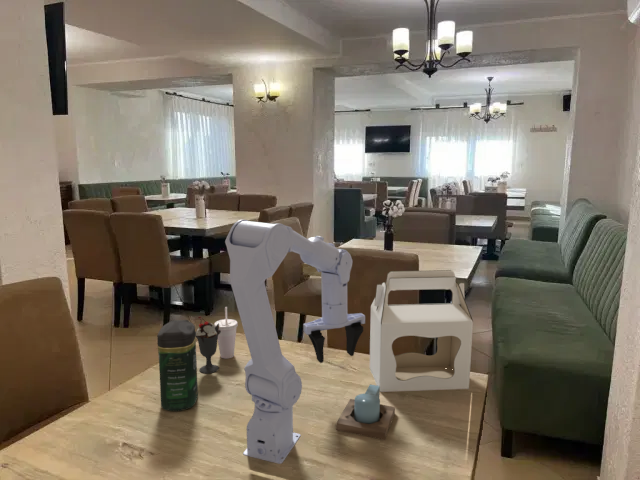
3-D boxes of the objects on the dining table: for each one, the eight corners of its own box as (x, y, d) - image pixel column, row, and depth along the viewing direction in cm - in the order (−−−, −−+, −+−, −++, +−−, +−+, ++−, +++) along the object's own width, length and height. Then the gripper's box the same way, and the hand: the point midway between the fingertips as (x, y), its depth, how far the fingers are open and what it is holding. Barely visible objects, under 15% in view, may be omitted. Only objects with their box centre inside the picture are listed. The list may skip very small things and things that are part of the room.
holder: (384, 442, 90) (385, 432, 90) (336, 431, 94) (336, 422, 93) (394, 415, 100) (394, 407, 99) (350, 407, 103) (350, 398, 103)
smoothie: (241, 351, 132) (239, 304, 130) (235, 361, 126) (233, 312, 124) (219, 350, 133) (217, 303, 130) (212, 360, 127) (210, 311, 124)
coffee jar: (195, 411, 101) (191, 331, 98) (158, 414, 100) (152, 333, 97) (200, 389, 111) (197, 316, 107) (166, 392, 110) (161, 317, 106)
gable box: (378, 394, 109) (380, 279, 104) (368, 368, 122) (370, 265, 117) (470, 390, 110) (477, 277, 105) (450, 365, 123) (456, 263, 118)
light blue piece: (376, 431, 93) (376, 408, 92) (351, 426, 95) (351, 403, 94) (385, 408, 102) (386, 387, 101) (363, 403, 103) (363, 383, 102)
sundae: (190, 373, 119) (187, 317, 116) (204, 362, 125) (202, 309, 123) (213, 376, 117) (211, 320, 114) (226, 365, 123) (224, 311, 121)
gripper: (354, 291, 109) (355, 344, 112) (297, 300, 103) (299, 356, 106) (369, 300, 103) (369, 356, 106) (309, 310, 97) (311, 369, 100)
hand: (335, 357), depth 106 cm, fingers open, 7 cm apart
